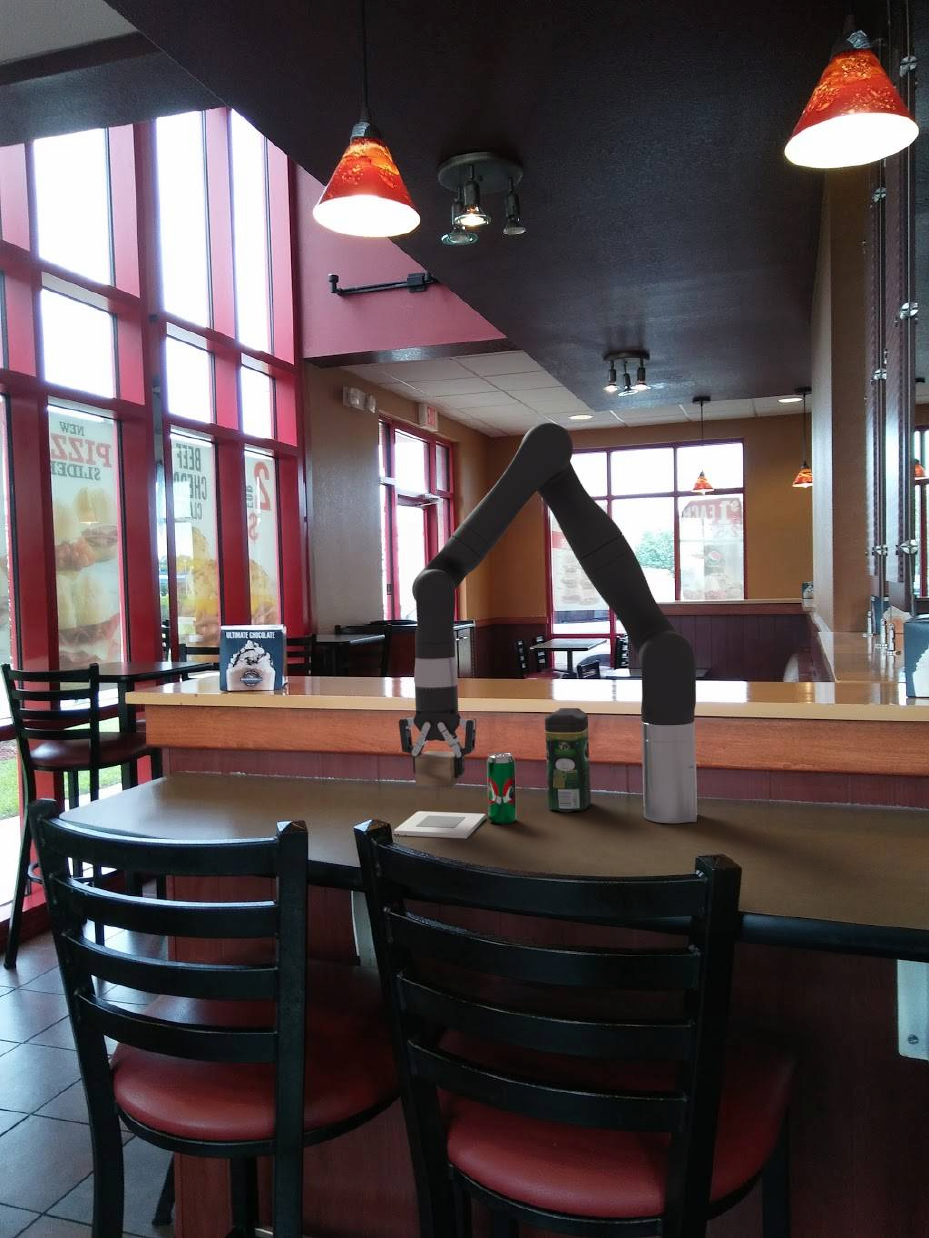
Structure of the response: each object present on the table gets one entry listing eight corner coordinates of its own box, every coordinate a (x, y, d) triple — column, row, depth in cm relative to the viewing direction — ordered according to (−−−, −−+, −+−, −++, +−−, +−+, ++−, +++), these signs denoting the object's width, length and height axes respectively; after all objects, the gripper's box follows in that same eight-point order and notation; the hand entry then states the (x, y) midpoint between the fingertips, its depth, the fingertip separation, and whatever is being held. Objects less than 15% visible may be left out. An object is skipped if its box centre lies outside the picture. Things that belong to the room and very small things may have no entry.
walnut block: (462, 779, 164) (461, 751, 164) (450, 787, 158) (449, 758, 158) (428, 778, 166) (427, 750, 166) (415, 786, 160) (415, 757, 160)
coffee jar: (553, 799, 179) (550, 705, 179) (594, 801, 177) (591, 705, 176) (542, 812, 170) (539, 712, 169) (585, 814, 168) (582, 713, 167)
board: (485, 818, 167) (485, 813, 167) (466, 838, 155) (466, 833, 155) (418, 815, 171) (417, 810, 171) (393, 834, 158) (393, 829, 158)
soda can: (517, 817, 167) (515, 752, 166) (516, 824, 162) (514, 757, 161) (489, 817, 167) (487, 752, 167) (487, 825, 162) (485, 757, 162)
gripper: (481, 680, 163) (483, 773, 164) (404, 680, 167) (407, 771, 168) (469, 685, 156) (472, 783, 157) (390, 685, 160) (393, 780, 161)
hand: (439, 776), depth 162 cm, fingers closed on walnut block, 6 cm apart
